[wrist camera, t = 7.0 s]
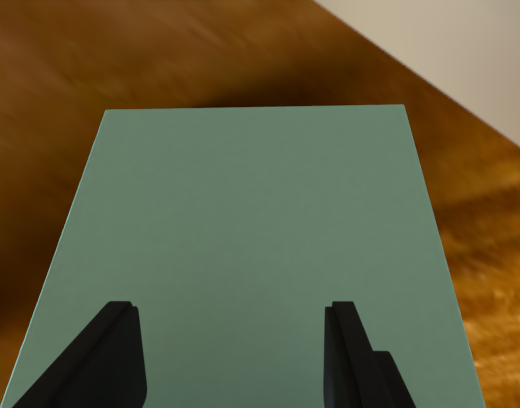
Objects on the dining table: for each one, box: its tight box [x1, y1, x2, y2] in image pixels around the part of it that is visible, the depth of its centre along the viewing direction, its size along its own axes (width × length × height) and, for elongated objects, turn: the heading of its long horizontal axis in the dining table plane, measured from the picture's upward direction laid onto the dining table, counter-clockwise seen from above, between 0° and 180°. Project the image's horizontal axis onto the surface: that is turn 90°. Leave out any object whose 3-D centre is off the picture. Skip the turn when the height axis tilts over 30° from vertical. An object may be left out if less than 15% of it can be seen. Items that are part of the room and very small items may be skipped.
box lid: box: [0, 104, 486, 408], centre depth 12 cm, size 17×15×5 cm
